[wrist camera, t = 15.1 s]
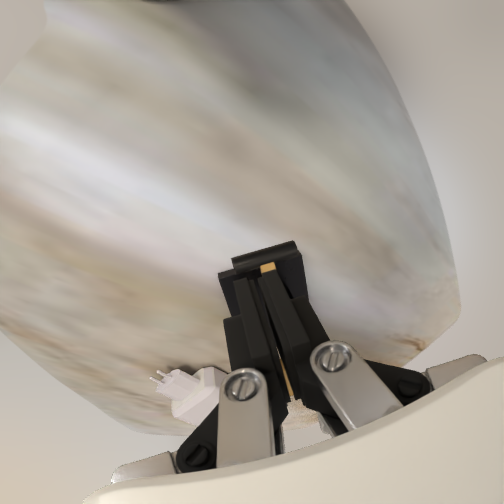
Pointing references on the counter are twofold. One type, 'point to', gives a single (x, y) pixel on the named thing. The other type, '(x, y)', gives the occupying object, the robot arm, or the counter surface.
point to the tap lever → (266, 267)
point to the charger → (191, 392)
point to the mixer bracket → (287, 271)
